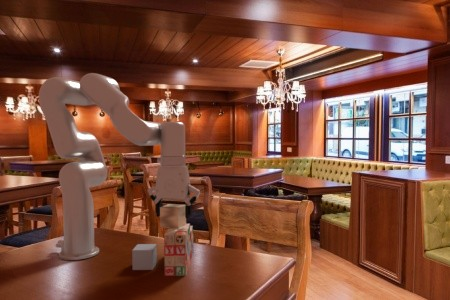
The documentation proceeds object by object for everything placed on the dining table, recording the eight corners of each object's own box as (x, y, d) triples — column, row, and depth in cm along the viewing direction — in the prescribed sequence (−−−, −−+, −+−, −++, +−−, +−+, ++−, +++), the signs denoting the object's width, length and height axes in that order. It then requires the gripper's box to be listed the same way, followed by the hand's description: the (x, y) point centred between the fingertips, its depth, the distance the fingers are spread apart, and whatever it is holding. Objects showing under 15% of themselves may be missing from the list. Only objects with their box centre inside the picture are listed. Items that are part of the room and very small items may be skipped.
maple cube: (160, 226, 105) (159, 207, 105) (168, 222, 111) (168, 203, 111) (178, 228, 104) (177, 208, 104) (186, 223, 109) (185, 204, 109)
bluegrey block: (132, 270, 103) (132, 250, 103) (137, 262, 109) (137, 244, 109) (152, 270, 103) (152, 250, 103) (156, 262, 109) (156, 244, 109)
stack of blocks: (175, 252, 119) (175, 216, 119) (193, 252, 119) (193, 216, 119) (164, 276, 98) (163, 233, 98) (186, 276, 98) (185, 233, 98)
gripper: (142, 162, 105) (142, 217, 106) (195, 163, 101) (195, 221, 101) (153, 160, 113) (154, 212, 113) (203, 161, 108) (204, 215, 108)
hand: (173, 216), depth 107 cm, fingers open, 9 cm apart
